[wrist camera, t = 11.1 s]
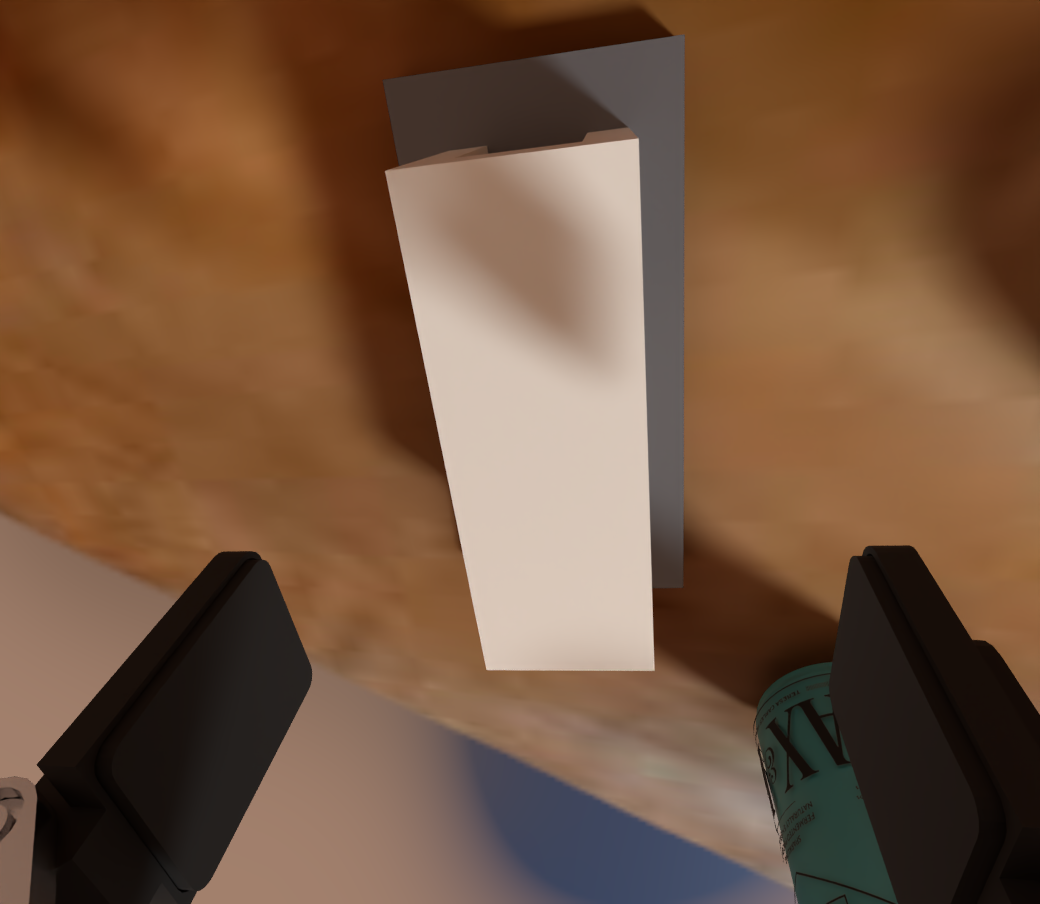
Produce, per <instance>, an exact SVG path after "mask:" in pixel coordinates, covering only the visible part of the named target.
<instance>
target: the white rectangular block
mask: <svg viewBox="0 0 1040 904" xmlns="http://www.w3.org/2000/svg"><path fill="white" fill-rule="evenodd" d="M385 174H386V179H387V184H388V188H389V193H390V198H391V203H392V208H393V213H394V218H395V223H396V228H397V233H398V238H399V242H400V247H401V252H402V257H403V262H404V267H405V272H406V277H407V282H408V287H409V291H410V296H411V301H412V306H413V311H414V316H415V321H416V326H417V331H418V336H419V341H420V345H421V350H422V355H423V360H424V365H425V370H426V375H427V380H428V385H429V390H430V394H431V399H432V404H433V409H434V414H435V419H436V424H437V429H438V434H439V439H440V444H441V448H442V453H443V458H444V463H445V468H446V473H447V478H448V483H449V488H450V493H451V498H452V502H453V507H454V512H455V517H456V522H457V527H458V532H459V537H460V542H461V547H462V551H463V556H464V561H465V566H466V571H467V576H468V581H469V586H470V591H471V596H472V601H473V605H474V610H475V615H476V620H477V625H478V630H479V635H480V640H481V645H482V650H483V654H484V659H485V664H486V669H487V670H585V671H654V638H653V604H652V571H651V537H650V503H649V470H648V436H647V402H646V369H645V335H644V301H643V268H642V234H641V200H640V167H639V138H638V137H637V136H636V135H635V134H634V133H633V132H632V131H631V130H630V129H629V128H628V127H627V128H619V129H612V130H604V131H596V132H589V133H587V134H586V136H585V138H584V140H583V141H582V142H575V143H568V144H560V145H552V146H544V147H536V148H529V149H521V150H513V151H505V152H498V153H490V154H488V149H487V146H482V147H474V148H466V149H459V150H451V151H447V152H444V153H440V154H437V155H434V156H431V157H427V158H424V159H421V160H418V161H415V162H411V163H408V164H405V165H402V166H399V167H395V168H392V169H389V170H386V171H385Z"/></svg>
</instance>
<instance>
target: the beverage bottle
mask: <svg viewBox="0 0 1040 904" xmlns="http://www.w3.org/2000/svg"><path fill="white" fill-rule="evenodd" d="M831 667H832V662H827V663H819V664H814V665H809V666H806V667H803V668H800V669H797V670H795V671H792V672H790V673H788V674H786V675H784V676H783V677H781V678H780V679H778V680H777V681H776V682H774V683H773V684H772V685H771V686H770V687H769V688H768V689H767V690H766V691H765V693H764V694H763V695H762V697H761V699H760V701H759V704H758V708H757V715H756V717H757V718H755V720H756V730H757V731H756V735H757V734H758V738H759V742H760V746H761V750H762V751H761V750H760V749H759V745H757V746H758V755H759V757H760V761H761V762H760V763H761V767H762V772H763V777H764V781H765V785H766V789H767V791H768V792H767V794H768V795H769V800H770V804H771V806H770V807H771V808H772V810H771V811H772V812H773V814H772V815H773V817H774V815H775V810H774V808H773V804H772V800H771V796H770V792H769V788H768V783H767V779H768V782H769V786H770V789H771V793H772V796H773V800H774V805H775V809H776V813H777V817H778V821H779V823H778V825H779V826H780V830H781V833H780V834H781V836H782V837H781V836H780V837H781V838H783V839H781V838H780V840H781V841H782V840H783V842H784V844H783V846H784V847H785V848H784V849H783V847H782V851H783V850H784V851H786V857H785V860H787V859H788V863H789V867H790V871H791V876H792V880H793V884H794V892H796V896H797V901H798V904H898V903H897V900H896V897H895V894H894V891H893V888H892V885H891V882H890V879H889V876H888V873H887V870H886V867H885V864H884V861H883V858H882V855H881V852H880V849H879V846H878V843H877V840H876V837H875V834H874V831H873V828H872V825H871V822H870V819H869V816H868V813H867V810H866V807H865V804H864V801H863V798H862V795H861V792H860V789H859V786H858V783H857V780H856V777H855V774H854V771H853V768H852V765H851V762H850V759H849V756H848V753H847V750H846V747H845V744H844V741H843V738H842V735H841V732H840V729H839V726H838V723H837V720H836V717H835V714H834V711H833V708H832V704H831V700H830V693H829V679H830V673H831ZM754 723H755V721H754ZM753 732H754V727H753ZM756 735H755V736H756ZM756 738H757V736H756ZM756 738H755V740H756ZM756 744H757V743H756ZM757 746H756V747H757ZM760 751H761V752H762V755H763V759H764V761H763V759H762V757H761V754H760ZM762 761H763V762H764V764H765V767H766V771H767V772H766V771H765V769H764V767H763V762H762ZM765 773H766V775H765ZM766 776H767V779H766ZM774 823H775V822H774ZM775 828H776V825H775ZM776 831H777V833H778V828H777V829H776ZM778 835H779V834H778ZM780 840H779V843H780ZM780 845H781V844H780ZM780 847H781V846H780ZM784 851H783V852H782V854H783V855H784ZM782 858H783V857H782ZM786 858H787V859H786ZM783 862H784V861H783ZM786 864H787V862H786Z"/></svg>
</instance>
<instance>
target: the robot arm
mask: <svg viewBox="0 0 1040 904" xmlns="http://www.w3.org/2000/svg"><path fill="white" fill-rule="evenodd" d="M311 681H312V669H311V665H310V662H309V660H308V658H307V655H306V653H305V650H304V648H303V645H302V643H301V640H300V638H299V635H298V633H297V631H296V628H295V626H294V623H293V621H292V618H291V616H290V613H289V611H288V608H287V606H286V604H285V601H284V599H283V596H282V594H281V591H280V589H279V586H278V584H277V581H276V579H275V577H274V574H273V572H272V569H271V567H270V565H269V563H268V562H267V561H266V560H262V559H261V557H260V555H259V554H257V553H256V552H252V551H240V552H221V553H218V554H217V555H216V556H215V557H214V558H213V559H212V560H211V561H210V563H209V564H208V565H207V566H206V567H205V568H204V570H203V571H202V572H201V573H200V574H199V575H198V577H197V578H196V579H195V580H194V581H193V582H192V584H191V585H190V586H189V587H188V588H187V590H186V591H185V592H184V593H183V594H182V595H181V597H180V598H179V599H178V600H177V601H176V602H175V604H174V605H173V606H172V607H171V608H170V609H169V611H168V612H167V613H166V614H165V615H164V616H163V618H162V619H161V620H160V621H159V622H158V623H157V625H156V626H155V627H154V628H153V629H152V630H151V632H150V633H149V634H148V635H147V636H146V638H145V639H144V640H143V641H142V642H141V643H140V645H139V646H138V647H137V648H136V649H135V650H134V651H133V653H132V654H131V655H130V656H129V657H128V659H127V660H126V661H125V662H124V663H123V664H122V666H121V667H120V668H119V669H118V670H117V672H116V673H115V674H114V675H113V676H112V677H111V678H110V680H109V681H108V682H107V683H106V684H105V685H104V687H103V688H102V689H101V690H100V691H99V693H98V694H97V695H96V696H95V697H94V698H93V699H92V701H91V702H90V703H89V704H88V706H87V707H86V708H85V709H84V710H83V711H82V712H81V713H80V715H79V716H78V717H77V718H76V719H75V720H74V722H73V723H72V724H71V725H70V726H69V728H68V729H67V730H66V731H65V732H64V733H63V735H62V736H61V737H60V738H59V739H58V740H57V742H56V743H55V744H54V745H53V746H52V747H51V749H50V750H49V751H48V752H47V753H46V754H45V756H44V757H43V758H42V759H41V760H40V761H39V763H38V764H37V766H38V767H39V768H40V770H41V771H42V772H43V773H44V775H43V777H42V778H41V779H40V780H39V781H38V783H37V784H36V785H34V784H33V783H31V781H29V780H28V779H27V778H21V777H15V776H14V777H8V778H1V779H0V904H191V902H192V900H193V898H194V896H195V894H196V892H197V891H200V890H201V889H203V888H204V887H205V886H206V885H207V884H208V883H209V881H210V880H211V878H212V877H213V874H214V873H215V871H216V869H217V867H218V865H219V863H220V861H221V859H222V857H223V855H224V853H225V851H226V849H227V847H228V845H229V844H230V842H231V840H232V838H233V836H234V834H235V832H236V830H237V828H238V826H239V824H240V822H241V820H242V818H243V816H244V814H245V812H246V810H247V809H248V806H249V805H250V803H251V801H252V799H253V797H254V795H255V793H256V791H257V789H258V787H259V785H260V783H261V781H262V779H263V777H264V775H265V773H266V771H267V770H268V768H269V766H270V764H271V762H272V760H273V758H274V756H275V754H276V752H277V750H278V748H279V746H280V744H281V742H282V740H283V739H284V737H285V735H286V733H287V731H288V729H289V727H290V725H291V723H292V721H293V719H294V717H295V715H296V713H297V711H298V709H299V707H300V705H301V704H302V702H303V700H304V698H305V696H306V694H307V692H308V690H309V688H310V685H311ZM829 693H830V700H831V704H832V708H833V711H834V714H835V717H836V720H837V723H838V726H839V729H840V732H841V735H842V738H843V741H844V744H845V747H846V750H847V753H848V756H849V759H850V762H851V765H852V768H853V771H854V774H855V777H856V780H857V783H858V786H859V789H860V792H861V795H862V798H863V801H864V804H865V807H866V810H867V813H868V816H869V819H870V822H871V825H872V828H873V831H874V834H875V837H876V840H877V843H878V846H879V849H880V852H881V855H882V858H883V861H884V864H885V867H886V870H887V873H888V876H889V879H890V882H891V885H892V888H893V891H894V894H895V897H896V900H897V903H898V904H1040V715H1039V713H1038V711H1037V710H1036V708H1035V707H1034V705H1033V704H1032V702H1031V701H1030V699H1029V698H1028V696H1027V695H1026V693H1025V692H1024V690H1023V689H1022V687H1021V686H1020V684H1019V683H1018V681H1017V679H1016V678H1015V676H1014V675H1013V673H1012V672H1011V670H1010V669H1009V667H1008V666H1007V664H1006V663H1005V661H1004V660H1003V658H1002V657H1001V655H1000V654H999V653H998V652H997V650H996V649H995V648H994V647H993V646H992V645H991V644H989V643H987V642H986V641H982V640H972V639H971V637H970V636H969V634H968V633H967V631H966V629H965V628H964V626H963V625H962V623H961V621H960V620H959V618H958V617H957V615H956V613H955V612H954V610H953V608H952V607H951V605H950V604H949V602H948V600H947V599H946V597H945V596H944V594H943V592H942V591H941V589H940V588H939V586H938V584H937V583H936V581H935V580H934V578H933V576H932V575H931V573H930V572H929V570H928V568H927V567H926V565H925V564H924V562H923V560H922V559H921V557H920V556H919V554H918V552H917V551H916V550H915V549H914V547H912V546H867V547H866V548H865V549H864V551H863V555H862V556H853V557H852V558H851V559H850V562H849V568H848V573H847V579H846V585H845V591H844V597H843V603H842V609H841V615H840V620H839V626H838V632H837V638H836V644H835V650H834V656H833V662H832V667H831V673H830V679H829Z"/></svg>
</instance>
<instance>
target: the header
mask: <svg viewBox="0 0 1040 904" xmlns="http://www.w3.org/2000/svg"><path fill="white" fill-rule="evenodd" d="M684 49H685V35H678V36H671V37H665V38H658V39H651V40H645V41H638V42H631V43H625V44H618V45H611V46H605V47H598V48H591V49H585V50H578V51H572V52H565V53H558V54H552V55H545V56H538V57H532V58H525V59H518V60H512V61H505V62H498V63H492V64H485V65H478V66H472V67H465V68H458V69H452V70H445V71H438V72H432V73H425V74H418V75H412V76H405V77H399V78H392V79H385V80H383V85H384V90H385V95H386V100H387V106H388V111H389V116H390V121H391V126H392V132H393V137H394V142H395V147H396V152H397V158H398V163H399V166H402V165H405V164H408V163H411V162H415V161H418V160H421V159H424V158H427V157H431V156H434V155H437V154H440V153H444V152H447V151H451V150H459V149H466V148H474V147H482V146H487V149H488V154H490V153H498V152H505V151H513V150H521V149H529V148H536V147H544V146H552V145H560V144H568V143H575V142H582V141H583V140H584V138H585V136H586V134H587V133H589V132H596V131H604V130H612V129H619V128H627V127H628V128H629V129H630V130H631V131H632V132H633V133H634V134H635V135H636V136H637V137H638V138H639V167H640V200H641V234H642V268H643V301H644V335H645V369H646V402H647V436H648V470H649V503H650V537H651V571H652V588H683V507H684Z"/></svg>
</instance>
